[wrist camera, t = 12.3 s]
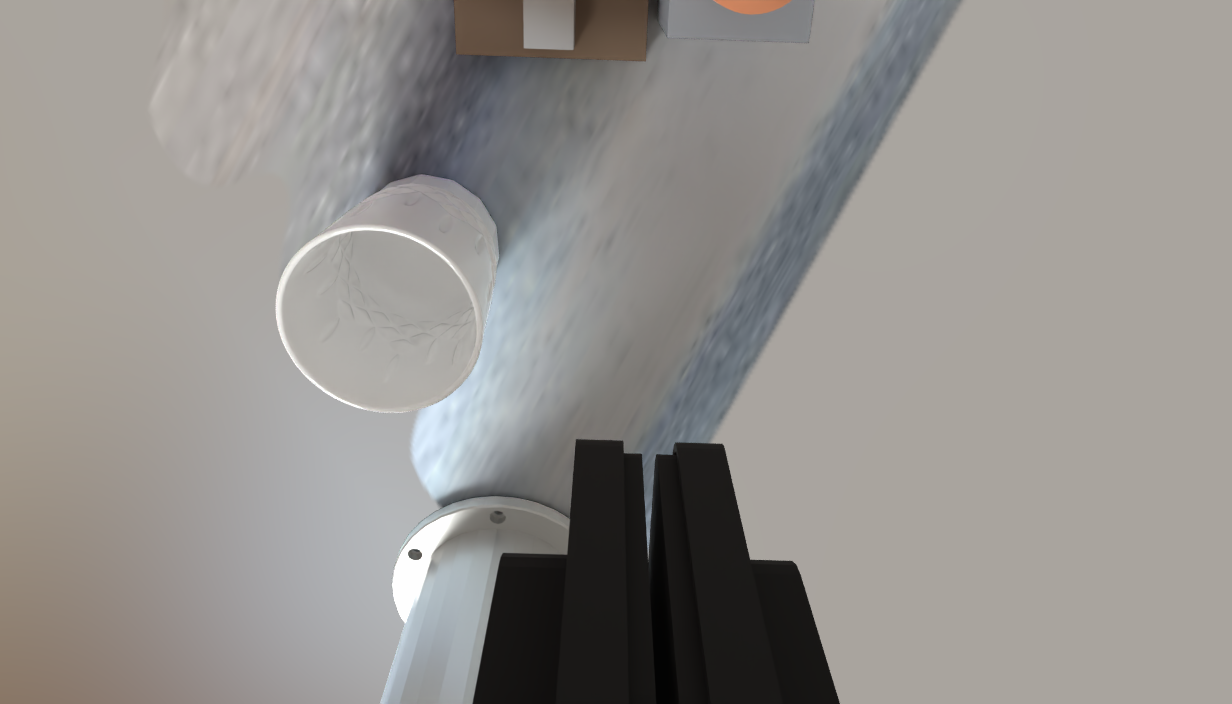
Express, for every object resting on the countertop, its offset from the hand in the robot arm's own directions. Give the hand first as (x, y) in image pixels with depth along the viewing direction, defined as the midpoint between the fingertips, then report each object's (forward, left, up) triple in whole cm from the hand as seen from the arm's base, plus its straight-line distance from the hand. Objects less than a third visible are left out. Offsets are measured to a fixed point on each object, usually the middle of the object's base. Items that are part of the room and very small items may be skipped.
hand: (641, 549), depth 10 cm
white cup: (-7, +9, -32) cm, 34 cm away
